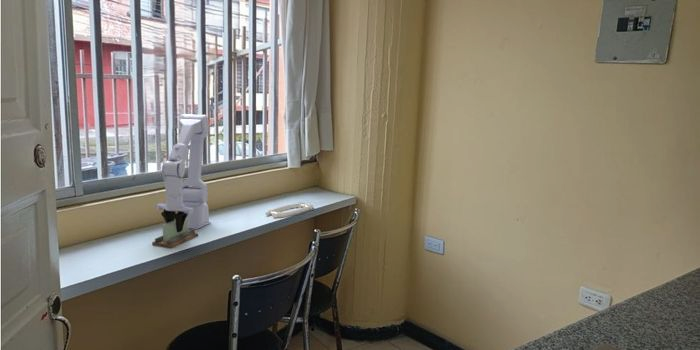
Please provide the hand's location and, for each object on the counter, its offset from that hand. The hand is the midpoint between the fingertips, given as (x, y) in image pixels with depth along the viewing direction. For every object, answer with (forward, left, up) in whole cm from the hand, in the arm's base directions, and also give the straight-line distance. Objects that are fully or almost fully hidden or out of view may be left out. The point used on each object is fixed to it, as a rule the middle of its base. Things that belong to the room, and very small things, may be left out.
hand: (175, 230), depth 177 cm
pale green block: (0, 0, -2) cm, 3 cm away
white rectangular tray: (-52, +20, -4) cm, 56 cm away
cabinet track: (0, 0, -3) cm, 3 cm away
